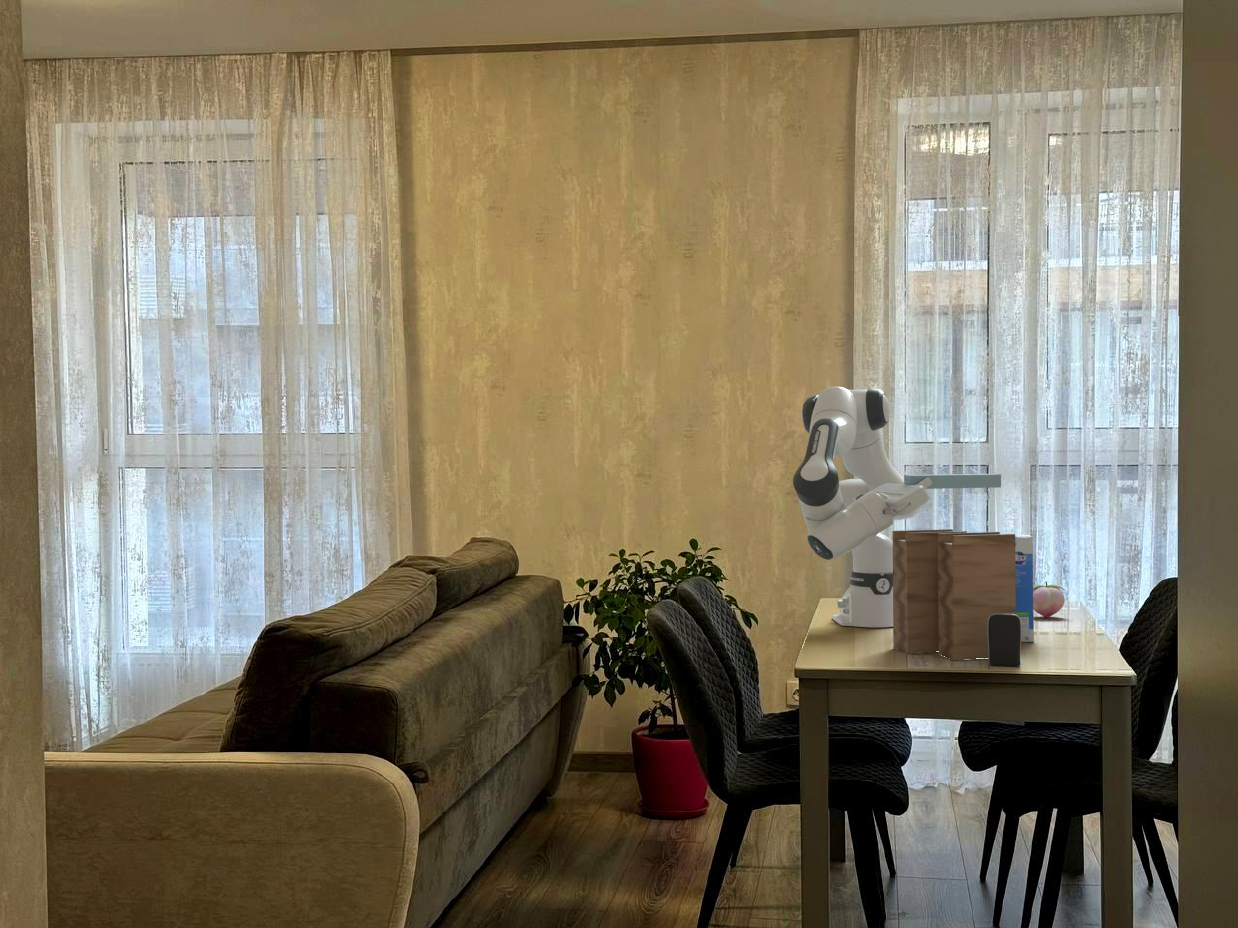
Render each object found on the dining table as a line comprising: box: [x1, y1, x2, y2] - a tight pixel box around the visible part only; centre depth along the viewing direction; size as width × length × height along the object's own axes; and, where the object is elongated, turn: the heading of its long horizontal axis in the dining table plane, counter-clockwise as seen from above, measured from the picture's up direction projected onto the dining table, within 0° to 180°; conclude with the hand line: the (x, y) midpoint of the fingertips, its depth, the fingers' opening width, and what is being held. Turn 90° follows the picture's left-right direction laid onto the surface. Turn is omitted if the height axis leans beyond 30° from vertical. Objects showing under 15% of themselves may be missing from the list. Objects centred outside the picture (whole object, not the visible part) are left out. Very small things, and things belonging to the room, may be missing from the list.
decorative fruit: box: [1033, 581, 1066, 619], centre depth 351 cm, size 9×8×10 cm
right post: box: [938, 531, 1016, 661], centre depth 290 cm, size 8×15×28 cm, turn 102°
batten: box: [903, 473, 1002, 490], centre depth 289 cm, size 4×22×3 cm, turn 102°
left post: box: [892, 528, 968, 654], centre depth 300 cm, size 8×15×28 cm, turn 102°
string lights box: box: [1015, 534, 1035, 643], centre depth 313 cm, size 13×8×26 cm, turn 80°
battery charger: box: [988, 613, 1022, 667], centre depth 279 cm, size 7×4×11 cm, turn 77°
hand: (924, 479), depth 287 cm, fingers closed on batten, 3 cm apart
